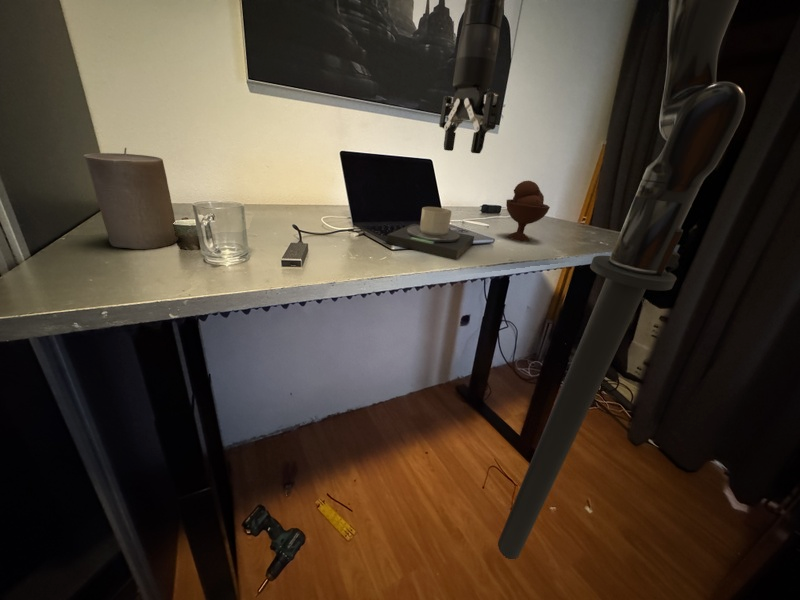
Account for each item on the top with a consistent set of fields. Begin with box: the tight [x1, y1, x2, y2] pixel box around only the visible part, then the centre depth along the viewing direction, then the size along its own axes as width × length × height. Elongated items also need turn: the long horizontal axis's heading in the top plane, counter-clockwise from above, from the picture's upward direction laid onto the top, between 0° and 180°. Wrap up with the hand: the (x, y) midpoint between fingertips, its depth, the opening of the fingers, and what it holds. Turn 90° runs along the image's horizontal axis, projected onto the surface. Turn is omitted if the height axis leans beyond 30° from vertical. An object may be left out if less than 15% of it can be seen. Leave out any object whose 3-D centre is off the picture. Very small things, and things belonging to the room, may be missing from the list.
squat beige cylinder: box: [419, 206, 453, 235], centre depth 73 cm, size 6×6×5 cm
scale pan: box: [407, 224, 460, 242], centre depth 74 cm, size 12×12×1 cm
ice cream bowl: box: [505, 180, 551, 242], centre depth 86 cm, size 11×11×15 cm
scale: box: [386, 223, 475, 260], centre depth 75 cm, size 16×15×2 cm
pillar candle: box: [83, 147, 179, 250], centre depth 54 cm, size 10×10×15 cm
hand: (461, 151), depth 69 cm, fingers open, 8 cm apart
